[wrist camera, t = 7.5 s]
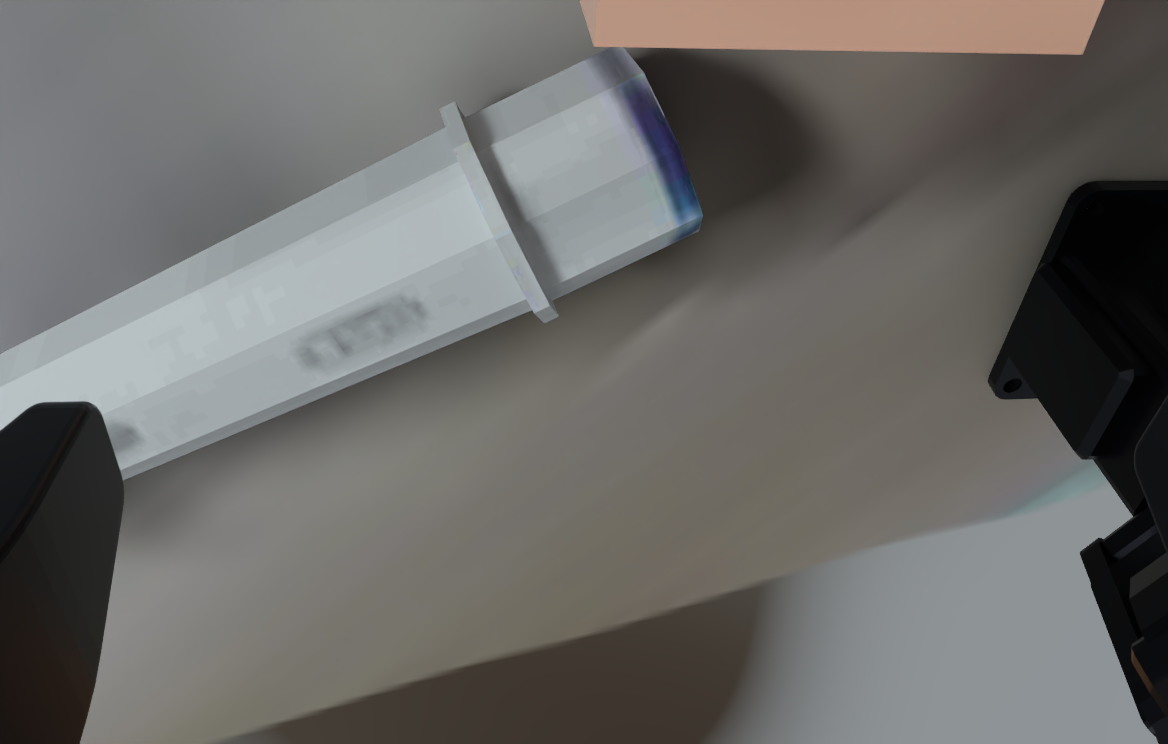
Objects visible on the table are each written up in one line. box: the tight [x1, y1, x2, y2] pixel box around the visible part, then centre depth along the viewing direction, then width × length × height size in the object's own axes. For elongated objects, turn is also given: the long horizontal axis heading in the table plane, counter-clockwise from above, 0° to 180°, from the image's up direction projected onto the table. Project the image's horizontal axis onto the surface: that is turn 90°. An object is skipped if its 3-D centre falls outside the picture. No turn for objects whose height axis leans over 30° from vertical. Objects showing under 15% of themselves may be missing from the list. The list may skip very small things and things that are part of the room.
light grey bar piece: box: [0, 47, 703, 480], centre depth 21 cm, size 5×7×25 cm
